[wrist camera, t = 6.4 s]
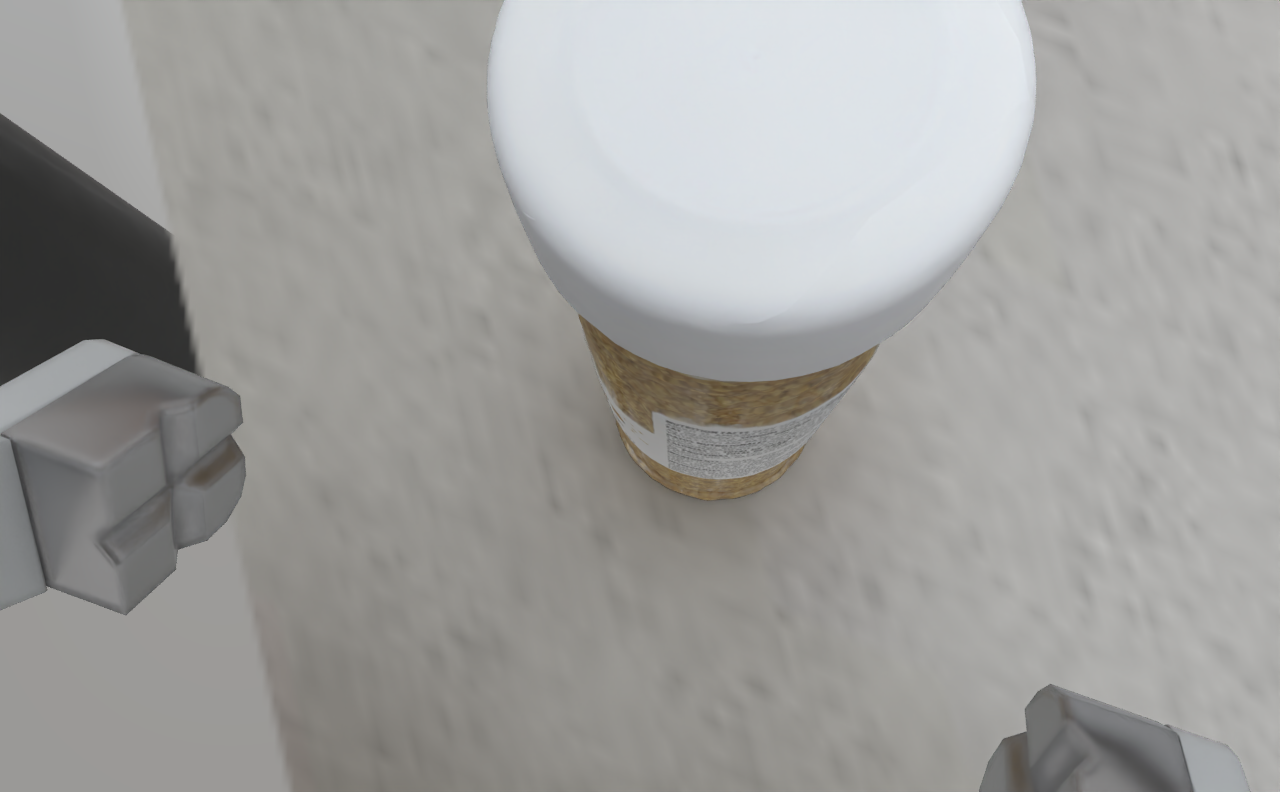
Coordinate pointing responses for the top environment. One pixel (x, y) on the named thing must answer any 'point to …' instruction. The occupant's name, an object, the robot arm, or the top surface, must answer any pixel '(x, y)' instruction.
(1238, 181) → the top surface
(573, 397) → the top surface
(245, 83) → the top surface
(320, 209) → the top surface
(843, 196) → the sprinkles bottle
